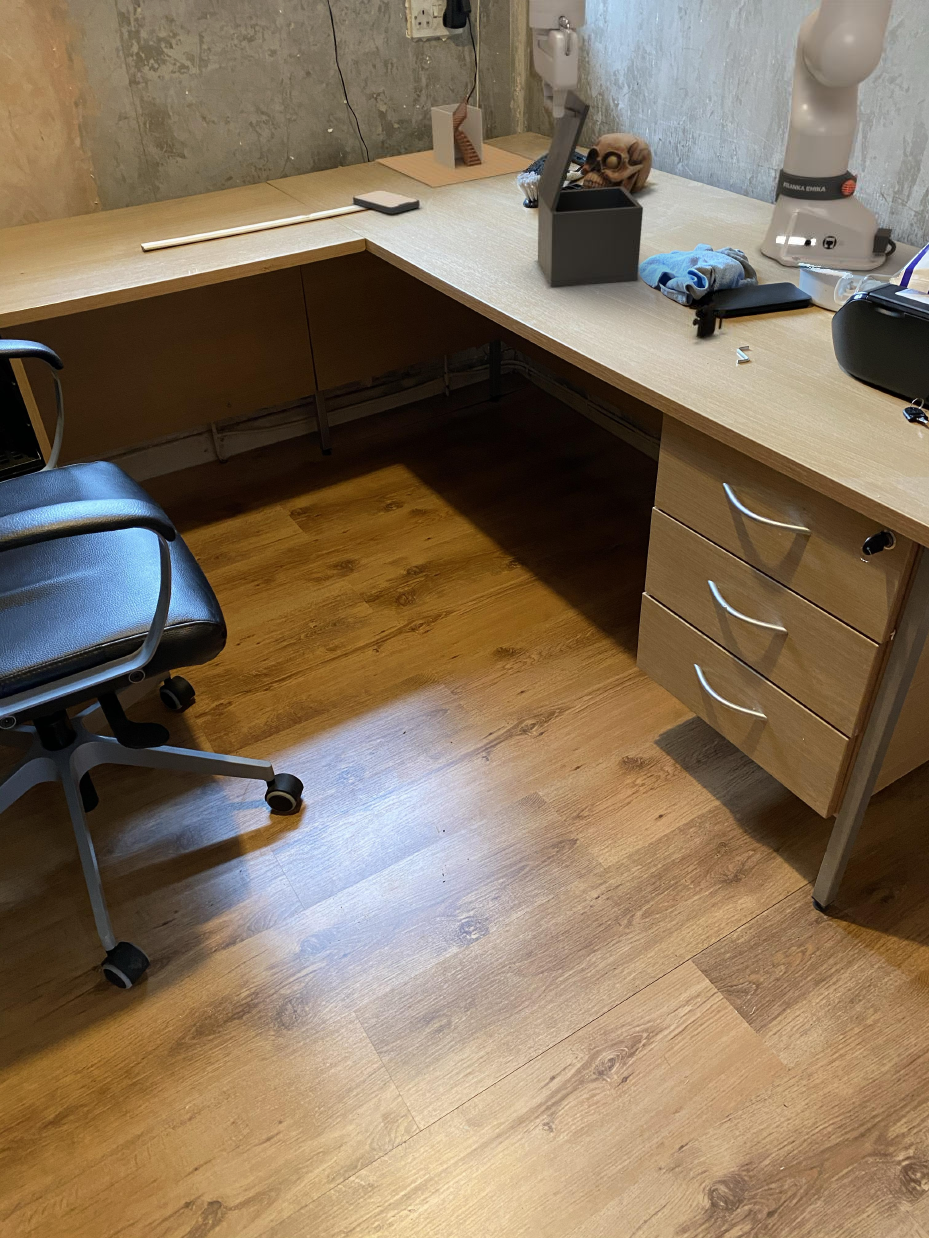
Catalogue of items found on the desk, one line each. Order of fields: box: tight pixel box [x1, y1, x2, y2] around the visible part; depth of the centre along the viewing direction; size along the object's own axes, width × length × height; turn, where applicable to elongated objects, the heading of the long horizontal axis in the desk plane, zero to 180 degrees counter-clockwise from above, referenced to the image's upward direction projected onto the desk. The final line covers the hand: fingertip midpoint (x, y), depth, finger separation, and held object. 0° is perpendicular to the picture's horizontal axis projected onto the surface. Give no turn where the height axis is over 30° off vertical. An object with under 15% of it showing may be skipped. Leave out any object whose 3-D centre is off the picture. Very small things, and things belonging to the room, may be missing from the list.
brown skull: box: [579, 132, 653, 194], centre depth 204 cm, size 16×17×13 cm
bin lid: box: [536, 90, 591, 212], centre depth 154 cm, size 17×14×5 cm
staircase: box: [430, 92, 485, 170], centre depth 232 cm, size 9×11×17 cm
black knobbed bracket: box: [691, 302, 726, 339], centre depth 141 cm, size 7×2×5 cm, turn 125°
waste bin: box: [537, 186, 644, 288], centre depth 164 cm, size 16×14×12 cm
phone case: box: [352, 190, 421, 215], centre depth 208 cm, size 9×2×16 cm
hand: (553, 112), depth 151 cm, fingers closed on bin lid, 6 cm apart
